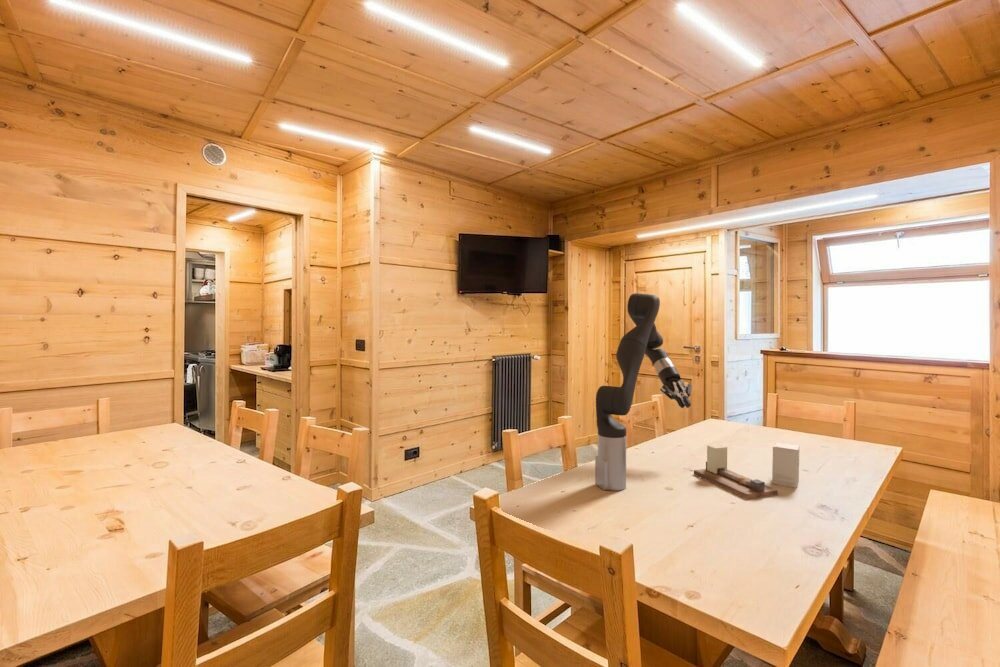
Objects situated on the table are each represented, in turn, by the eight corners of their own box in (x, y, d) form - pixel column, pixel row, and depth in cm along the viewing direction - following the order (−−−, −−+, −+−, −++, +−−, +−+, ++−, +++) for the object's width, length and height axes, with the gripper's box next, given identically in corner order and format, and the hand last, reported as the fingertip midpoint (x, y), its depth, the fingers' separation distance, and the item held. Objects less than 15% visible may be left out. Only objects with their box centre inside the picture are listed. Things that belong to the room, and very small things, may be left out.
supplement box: (797, 488, 152) (798, 450, 152) (771, 483, 156) (772, 446, 156) (799, 482, 158) (800, 445, 157) (774, 477, 162) (774, 441, 162)
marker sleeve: (715, 473, 160) (715, 448, 160) (706, 470, 164) (707, 445, 164) (727, 472, 162) (727, 447, 162) (718, 468, 166) (718, 444, 165)
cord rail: (746, 499, 143) (747, 484, 143) (693, 474, 166) (693, 461, 166) (777, 494, 146) (777, 480, 146) (721, 471, 169) (721, 459, 169)
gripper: (656, 366, 185) (675, 401, 174) (685, 365, 189) (706, 400, 177) (648, 377, 190) (666, 413, 179) (676, 376, 194) (696, 411, 183)
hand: (686, 406), depth 178 cm, fingers closed
